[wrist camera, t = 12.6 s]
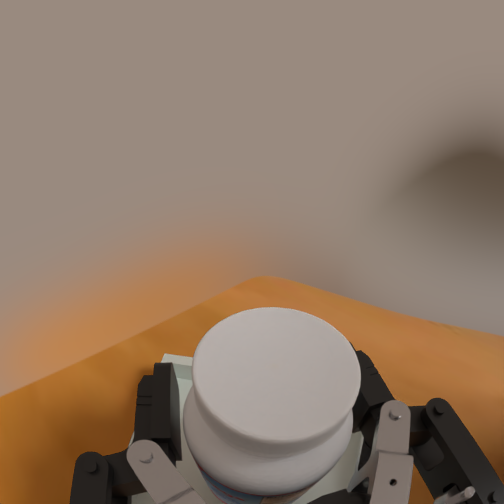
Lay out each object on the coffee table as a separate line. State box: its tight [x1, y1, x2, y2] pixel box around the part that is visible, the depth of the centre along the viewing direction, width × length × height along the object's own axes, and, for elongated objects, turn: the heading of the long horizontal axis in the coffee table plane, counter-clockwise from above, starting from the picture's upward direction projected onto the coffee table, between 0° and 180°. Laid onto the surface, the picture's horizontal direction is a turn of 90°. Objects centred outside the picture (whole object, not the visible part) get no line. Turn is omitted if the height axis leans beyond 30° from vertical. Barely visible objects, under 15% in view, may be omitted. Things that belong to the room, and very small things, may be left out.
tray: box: [128, 354, 363, 504], centre depth 13 cm, size 15×15×2 cm
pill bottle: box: [183, 307, 361, 504], centre depth 10 cm, size 6×6×11 cm
